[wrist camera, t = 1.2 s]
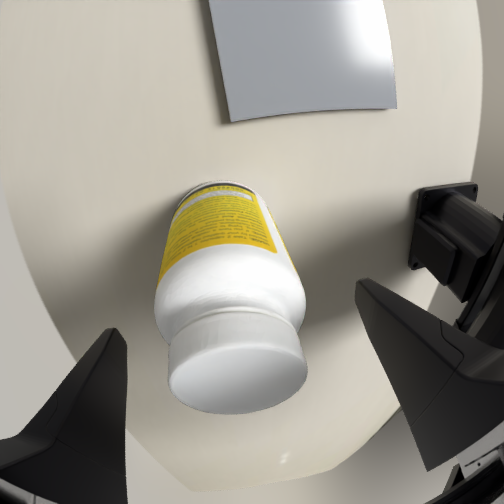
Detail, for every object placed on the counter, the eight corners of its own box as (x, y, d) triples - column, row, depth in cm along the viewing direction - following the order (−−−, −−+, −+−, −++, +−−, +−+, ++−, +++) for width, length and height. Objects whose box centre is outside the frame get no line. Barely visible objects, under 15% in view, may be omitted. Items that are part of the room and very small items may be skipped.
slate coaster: (368, -30, 8) (373, -32, 7) (391, 107, 13) (396, 108, 12) (201, -34, 7) (201, -39, 7) (230, 120, 12) (231, 121, 12)
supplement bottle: (152, 224, 15) (106, 382, 6) (226, 157, 13) (254, 278, 5) (219, 281, 17) (233, 433, 9) (288, 227, 16) (361, 372, 8)
